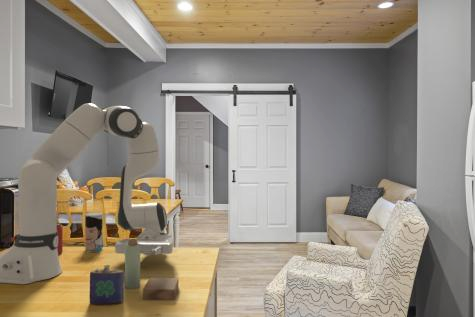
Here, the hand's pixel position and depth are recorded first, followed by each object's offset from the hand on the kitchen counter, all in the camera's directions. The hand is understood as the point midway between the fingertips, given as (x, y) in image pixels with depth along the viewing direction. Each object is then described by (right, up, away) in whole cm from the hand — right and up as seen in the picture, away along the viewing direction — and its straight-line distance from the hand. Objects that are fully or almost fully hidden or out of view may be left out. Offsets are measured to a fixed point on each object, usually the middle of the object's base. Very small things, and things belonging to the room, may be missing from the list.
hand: (140, 252), depth 126 cm
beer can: (-41, -6, +23) cm, 47 cm away
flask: (-3, -8, -23) cm, 24 cm away
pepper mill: (0, -8, -10) cm, 13 cm away
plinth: (+10, -8, -16) cm, 21 cm away
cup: (-27, -6, +29) cm, 40 cm away
